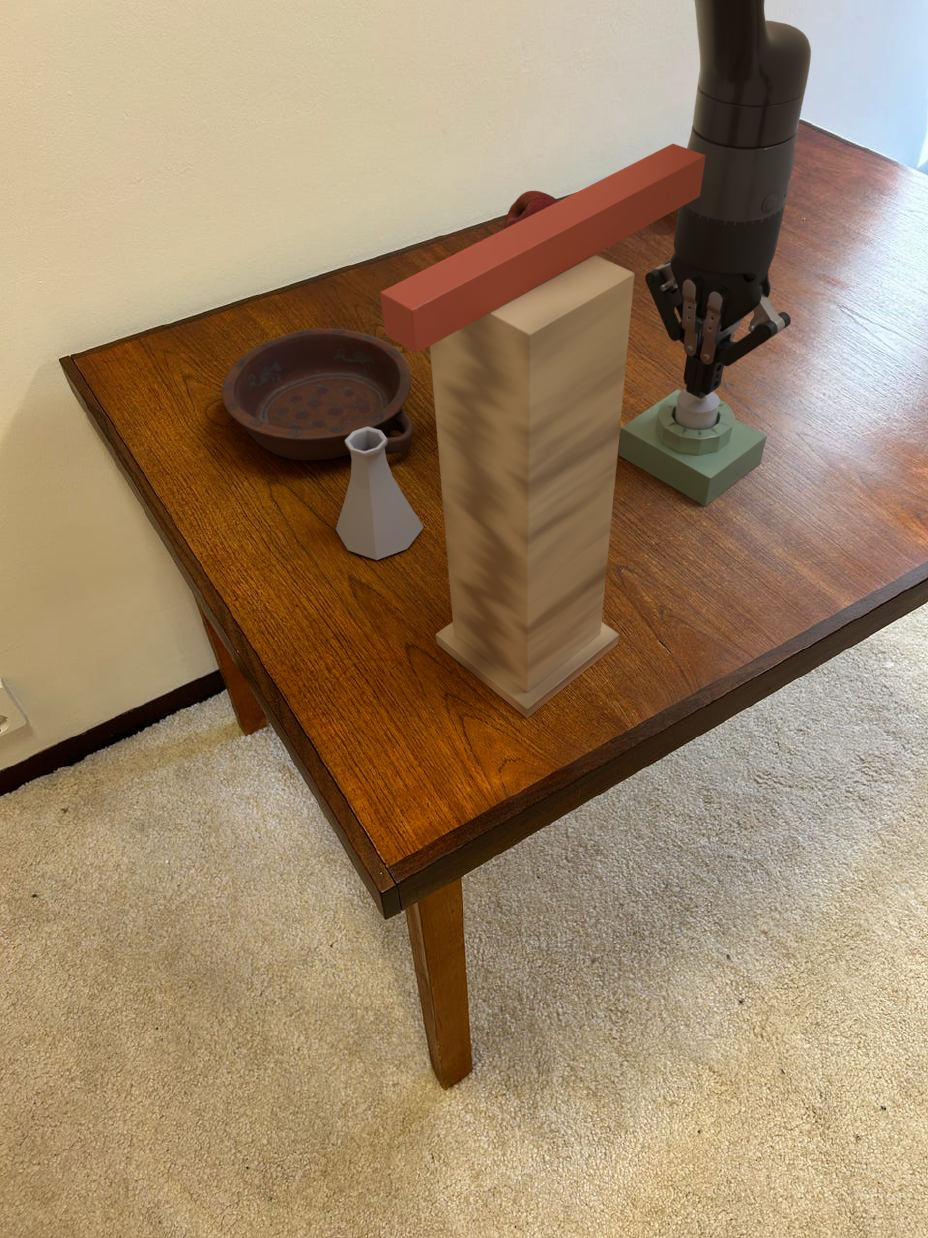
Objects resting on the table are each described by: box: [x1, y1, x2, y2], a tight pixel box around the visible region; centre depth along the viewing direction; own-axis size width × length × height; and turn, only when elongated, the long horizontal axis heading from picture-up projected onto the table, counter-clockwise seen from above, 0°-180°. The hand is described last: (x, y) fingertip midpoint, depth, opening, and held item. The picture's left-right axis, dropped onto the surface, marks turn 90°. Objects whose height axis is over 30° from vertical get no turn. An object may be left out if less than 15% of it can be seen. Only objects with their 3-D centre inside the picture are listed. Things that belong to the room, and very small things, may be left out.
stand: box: [429, 254, 636, 719], centre depth 63 cm, size 10×10×31 cm
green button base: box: [617, 389, 768, 507], centre depth 86 cm, size 10×8×5 cm
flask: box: [335, 427, 424, 561], centre depth 80 cm, size 7×7×10 cm
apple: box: [503, 190, 560, 230], centre depth 110 cm, size 7×8×8 cm
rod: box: [379, 143, 705, 354], centre depth 51 cm, size 2×22×2 cm, turn 133°
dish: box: [221, 328, 415, 461], centre depth 93 cm, size 18×22×5 cm
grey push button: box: [675, 388, 721, 430], centre depth 84 cm, size 4×4×2 cm
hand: (699, 391), depth 83 cm, fingers closed
